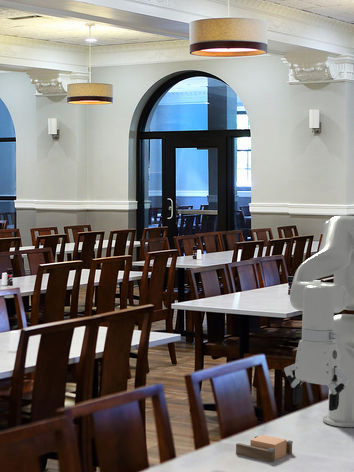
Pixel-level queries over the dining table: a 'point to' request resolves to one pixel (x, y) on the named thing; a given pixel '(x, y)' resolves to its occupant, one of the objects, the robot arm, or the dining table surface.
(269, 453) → the brown wooden rail pair
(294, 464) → the dining table surface
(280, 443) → the light orange block
